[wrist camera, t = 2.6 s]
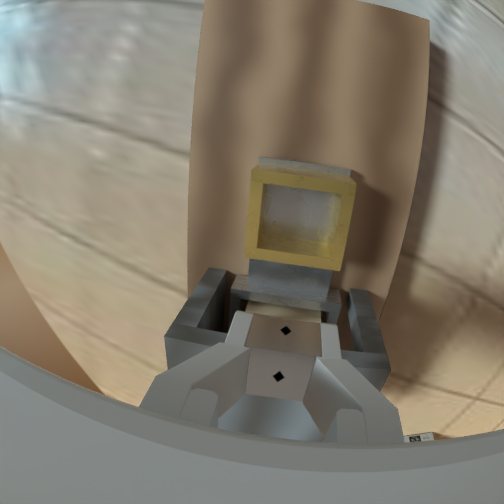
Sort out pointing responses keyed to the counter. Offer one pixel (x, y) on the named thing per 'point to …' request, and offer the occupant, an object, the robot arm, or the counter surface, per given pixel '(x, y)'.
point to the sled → (295, 235)
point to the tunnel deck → (302, 149)
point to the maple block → (284, 311)
